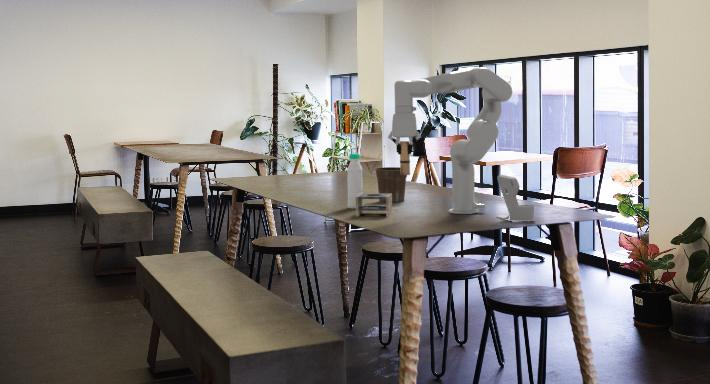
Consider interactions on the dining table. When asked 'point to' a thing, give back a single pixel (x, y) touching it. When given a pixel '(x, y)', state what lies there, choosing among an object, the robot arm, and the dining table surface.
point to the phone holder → (514, 200)
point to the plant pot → (391, 183)
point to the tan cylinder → (404, 158)
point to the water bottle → (354, 180)
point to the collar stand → (361, 207)
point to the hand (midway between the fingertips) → (404, 153)
